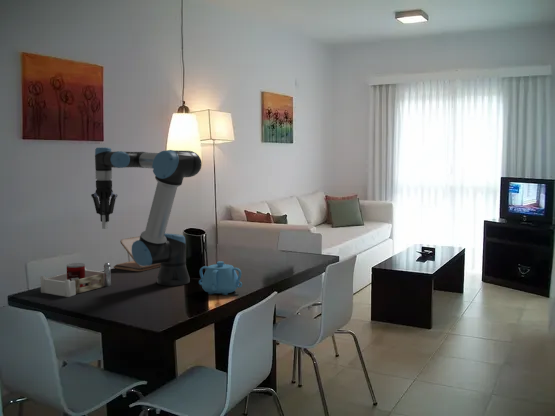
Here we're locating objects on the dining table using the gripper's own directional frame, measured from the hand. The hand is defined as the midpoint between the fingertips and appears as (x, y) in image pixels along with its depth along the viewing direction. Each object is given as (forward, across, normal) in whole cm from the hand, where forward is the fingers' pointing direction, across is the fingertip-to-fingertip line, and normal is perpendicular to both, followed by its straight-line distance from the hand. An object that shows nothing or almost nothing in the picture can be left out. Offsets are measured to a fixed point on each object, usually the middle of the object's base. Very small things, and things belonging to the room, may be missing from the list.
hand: (105, 228), depth 268 cm
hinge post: (+24, -10, +15) cm, 30 cm away
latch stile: (+24, -3, +30) cm, 39 cm away
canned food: (+25, +1, +24) cm, 34 cm away
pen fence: (+24, +1, +24) cm, 34 cm away
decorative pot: (+25, -64, +14) cm, 70 cm away
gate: (+24, -7, +25) cm, 35 cm away
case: (+25, -3, -29) cm, 39 cm away
